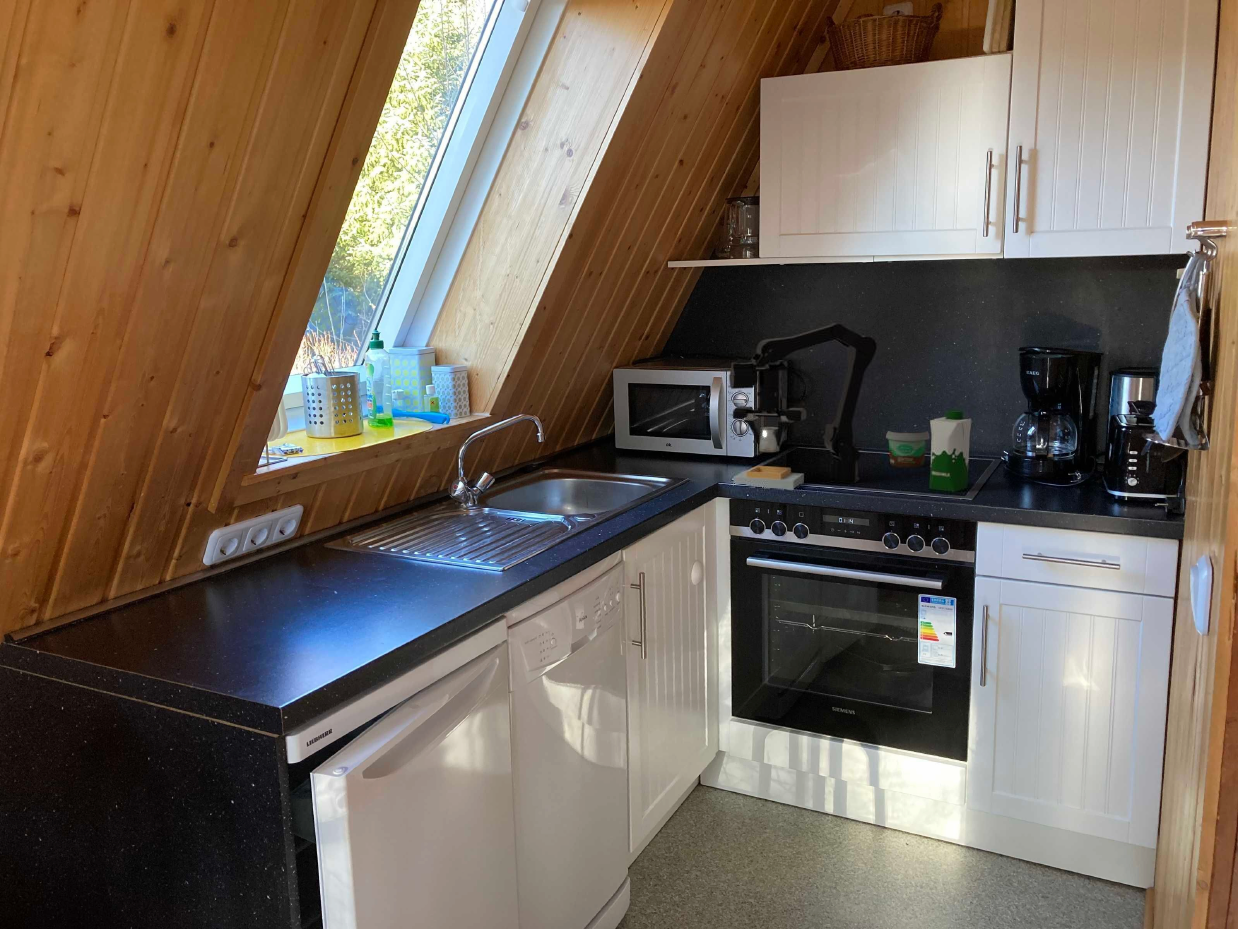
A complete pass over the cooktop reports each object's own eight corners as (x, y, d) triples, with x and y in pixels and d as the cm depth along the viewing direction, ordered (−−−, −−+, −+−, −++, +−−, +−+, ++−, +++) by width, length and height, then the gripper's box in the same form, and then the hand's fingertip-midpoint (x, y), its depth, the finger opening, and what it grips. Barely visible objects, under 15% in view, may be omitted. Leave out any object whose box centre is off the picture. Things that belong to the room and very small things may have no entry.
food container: (886, 467, 290) (887, 433, 289) (885, 464, 296) (886, 430, 294) (931, 468, 288) (932, 433, 286) (928, 464, 294) (929, 430, 292)
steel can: (781, 449, 270) (781, 427, 269) (775, 452, 265) (775, 430, 264) (762, 448, 272) (762, 426, 271) (757, 451, 267) (756, 429, 266)
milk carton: (972, 487, 260) (975, 411, 257) (955, 493, 254) (958, 414, 250) (940, 483, 266) (943, 408, 263) (923, 489, 260) (926, 412, 256)
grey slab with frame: (803, 482, 271) (803, 468, 271) (793, 490, 262) (793, 475, 261) (745, 478, 278) (745, 464, 278) (733, 486, 269) (733, 471, 268)
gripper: (811, 385, 269) (811, 442, 272) (745, 383, 277) (745, 439, 280) (800, 389, 259) (800, 449, 262) (731, 387, 267) (732, 445, 270)
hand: (769, 445), depth 268 cm, fingers closed on steel can, 5 cm apart
